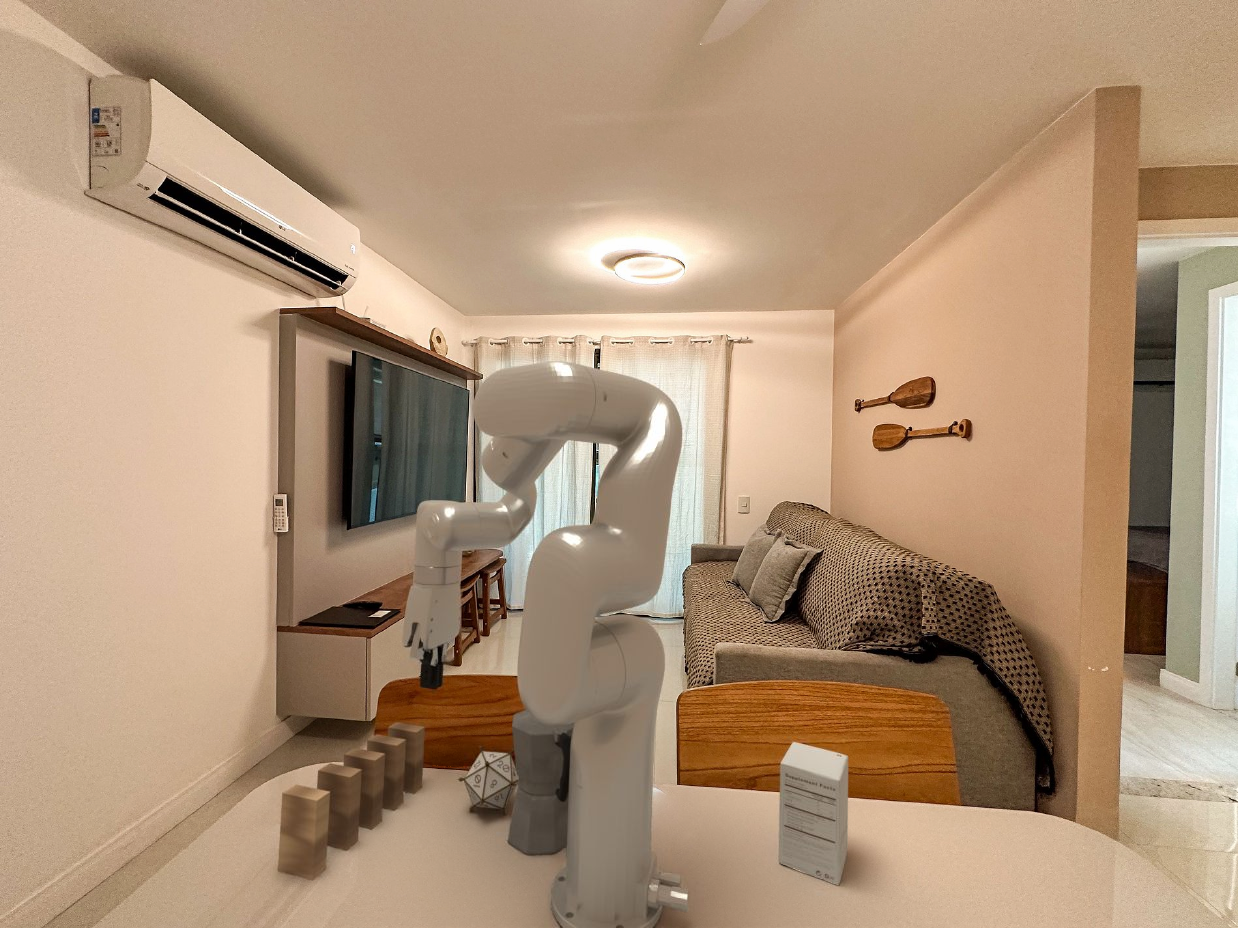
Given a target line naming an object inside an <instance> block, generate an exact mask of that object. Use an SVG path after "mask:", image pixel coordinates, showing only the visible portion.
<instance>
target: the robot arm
mask: <svg viewBox="0 0 1238 928" xmlns="http://www.w3.org/2000/svg"><path fill="white" fill-rule="evenodd" d="M474 396H475V397H474V400H473V406H472V407H473V408H472V410H473V411H472V412H473V418H474V422H475V424H476V426H477V427H478V429H479V430H480V431H481V432H482V433H484V434H485V435H487V436H490V437H492V438H491V440H490V441H489V442H488V444H487V445H486V446H485V448H484V450H483V452H481V453H482V455H481V458H480V459H481V460H480V461H481V466H482V468H483V471H484V472H485V475H486V476H487V477H488V479H490V481H491V482H492V483H494V484H495V486H497V487H499V488H501V489H502V490H504V491H505V492H506V493H505V494H504V495H503V496H502V497H501V498H500V499H499V500H498V501H497V502H496V501H495V502H494V501H493V502H488V501H487V502H486V501H483V502H481V501H479V502H472V501H470V502H469V501H468V502H460V501H459V502H458V501H454V500H444V499H442V500H441V499H440V500H437V499H435V500H434V499H432V500H431V499H429V500H424V501H422V502H420V503H419V504H418V506H417V512H416V526H415V527H416V528H415V545H414V560H413V578H412V585H410V588H409V592H408V596H407V599H406V600H407V602H406V606H405V612H404V618H403V628H402V640H401V643H402V646H403V648H411V649H410V653H409V659H412V660H417V661H418V663H419V664H420V675H419V677H420V679H419V687H420V688H424V689H429V690H434V691H436V690H437V689H439V688H441V687H442V686H443V683H444V682H443V679H444V662H445V660H446V658H447V652H448V651H447V650H448V649H449V647H450V646H451V645H452V644H453V643H454V641H455V638H456V637H457V636H458V635H459V634H460V630H461V629H460V628H461V617H462V597H461V593H462V591H461V579H462V567H463V566H462V565H463V564H462V561H463V552H465V551H466V552H467V551H477V550H491V549H492V550H493V549H500V548H504V547H506V546H508V545H510V544H511V543H512V542H514V541H515V540H516V539H517V538H518V537H519V536H520V535H521V534H522V532H523V531H524V530H525V529H526V527H528V526H529V525H530V523H531V521H532V520H533V518H534V515H535V513H536V512H535V511H536V508H537V503H538V502H537V500H538V492H537V489H538V488H537V486H536V481H537V480H538V478H539V477H540V476H541V475H542V474H543V472H544V471H545V470H546V469H547V467H548V466H549V465H550V463H551V462H552V461H553V460H554V458H555V457H556V456H557V455H558V453H559V452H560V451H561V450H562V448H563V447H564V446H565V445H566V443H567V442H568V441H570V442H571V441H573V442H581V443H588V444H589V443H590V444H602V445H611V446H614V447H616V449H617V451H616V452H615V453H614V455H613V456H612V457H611V458H610V459H609V461H608V463H607V464H606V466H605V468H604V469H603V472H602V474H601V476H600V478H599V482H598V486H597V490H596V502H595V503H596V504H595V508H594V515H593V519H592V521H591V523H590V524H580V525H578V524H577V525H567V526H563V527H559V528H557V529H554V530H552V531H551V532H549V533H548V534H546V535H545V536H544V537H543V538H542V539H541V540H540V541H539V543H538V544H537V547H536V548H535V549H534V551H533V554H532V556H531V558H530V562H529V565H528V568H527V569H528V570H527V574H526V581H525V582H526V583H525V591H524V600H523V606H522V607H523V608H522V609H523V610H522V619H521V627H520V634H519V635H520V637H519V646H518V654H517V655H518V656H517V669H516V670H517V672H516V673H517V685H518V686H517V687H518V692H519V696H520V699H521V703H522V705H523V707H524V710H525V709H526V711H527V712H528V714H529V715H530V716H531V717H532V718H533V719H534V720H535V721H537V722H538V723H540V724H542V725H546V726H553V727H555V726H563V725H567V724H571V723H574V722H575V724H574V728H573V732H572V738H571V747H570V774H569V802H568V830H567V846H566V860H565V861H566V865H565V867H564V868H563V869H561V870H560V871H559V873H558V874H557V875H556V877H555V879H554V881H553V883H552V885H551V891H550V905H551V911H552V914H553V916H554V918H555V920H556V921H557V922H558V924H559V925H560V927H562V928H654V927H655V925H656V924H657V923H658V921H659V919H660V918H661V916H662V912H663V907H668V908H670V909H671V910H676V911H680V912H684V913H687V912H688V910H689V901H690V889H687V888H686V889H685V888H682V874H677V873H672V872H665V871H662V868H660V867H657V865H658V863H657V862H658V852H655V851H651V850H652V822H653V821H652V820H653V818H652V817H653V790H654V789H653V787H654V785H653V784H654V783H653V782H654V763H655V762H654V760H655V758H654V757H655V736H656V734H655V733H656V723H657V722H656V721H657V716H658V715H657V714H658V708H659V703H660V697H661V693H662V689H663V685H664V684H663V682H664V677H665V670H666V656H665V648H664V644H663V641H662V639H661V637H660V635H659V633H658V632H657V630H656V629H655V627H654V626H653V625H652V624H650V622H648V621H647V620H645V619H644V618H641V617H639V616H636V615H631V614H613V615H606V614H610V613H614V612H619V611H624V610H628V609H629V610H630V609H633V608H636V607H639V606H643V605H644V604H647V603H648V602H650V601H652V600H653V599H654V598H655V597H656V596H657V594H658V593H659V590H660V587H661V584H662V581H663V575H664V568H665V559H666V554H667V553H666V551H667V544H668V536H669V527H670V521H671V520H670V519H671V511H672V509H671V508H672V498H673V493H674V486H675V480H676V475H677V469H678V466H679V462H680V456H681V451H682V444H683V425H682V420H681V416H680V414H679V413H680V412H679V411H678V408H677V406H676V405H675V403H674V401H673V399H671V397H669V396H668V394H666V393H665V391H663V390H661V389H660V388H659V387H657V386H655V385H654V384H652V383H650V382H646V381H644V380H642V379H639V378H636V377H632V376H628V375H625V374H623V373H618V372H614V371H609V370H604V369H599V368H595V367H591V366H587V365H583V364H580V363H575V362H570V361H562V360H551V361H543V362H542V361H541V362H536V363H531V364H525V365H524V364H523V365H517V366H512V367H505V368H501V369H499V370H495V371H494V372H492V373H491V374H490V375H488V377H486V378H485V379H484V381H483V382H482V383H481V384H480V386H479V387H478V390H477V391H476V394H475V395H474ZM604 614H605V615H606V616H602V617H597V616H601V615H604ZM596 617H597V618H596Z"/></svg>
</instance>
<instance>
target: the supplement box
mask: <svg viewBox="0 0 1238 928" xmlns="http://www.w3.org/2000/svg"><path fill="white" fill-rule="evenodd" d="M779 764H780V765H779V805H778V806H779V809H778V810H779V814H778V816H779V817H778V821H779V822H778V827H779V828H778V864H780V863H781V864H784V865H786V866H789V867H791V868H795V869H797V870H800V871H802V872H805V873H807V874H810V875H812V876H816V877H818V878H821V879H824V880H826V881H830V882H832V883H835V884H837V885H836V886H839V885H840V884H841V880H842V875H843V872H844V867H845V864H846V860H847V857H848V856H847V855H848V853H847V851H848V839H849V838H848V837H849V836H848V834H849V831H848V827H849V826H848V825H849V824H848V821H849V819H848V818H849V814H848V813H849V756H848V755H846V754H842V753H839V752H836V751H832V750H828V749H824V748H820V747H817V746H816V747H815V746H812V745H807V744H803V743H799V742H796V741H792V743H791V744H790V746H789V748H788V750H787V751H786V753H785V755H784V756H783V758H782V760H781V762H780V763H779ZM781 864H780V865H781ZM786 866H785V867H786ZM791 868H790V869H791ZM802 872H801V873H802ZM807 874H806V875H807ZM810 875H809V876H810ZM812 876H811V877H812ZM818 878H817V879H818ZM821 879H820V880H821ZM826 881H825V882H826ZM832 883H831V884H832Z"/></svg>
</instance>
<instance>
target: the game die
mask: <svg viewBox="0 0 1238 928" xmlns="http://www.w3.org/2000/svg"><path fill="white" fill-rule="evenodd" d="M483 749H484V748H483V746H482V745H480V744H478V751H479V754H478V755H477V757H476V758H475V760H474V762H473V763H472V765H471V766H470V768H469V770H467V773H466V774H465V776H464V777H459V778H457V781H459V782H464V786H465V788H466V791H467V793H468V796H469V798H470V801H471V804H472V806H470V807H469V813H471V812H473V811H474V810H475V808H481V809H492V810H501V811H502V815H503V816H507V810H506V808H505V807H506V806H507V804H508V802H509V800H510V799H511V798H512V795H513V794H514V792H515V790H516V789H517V786H518V779H519V776H518V775H517V771H516V763H515V761H514V759H513V755H512V754H513V753H515V751H514V747H512V748H511V749H510V750H509V752H504V751H492V750H491V751H489V750H483Z"/></svg>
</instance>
